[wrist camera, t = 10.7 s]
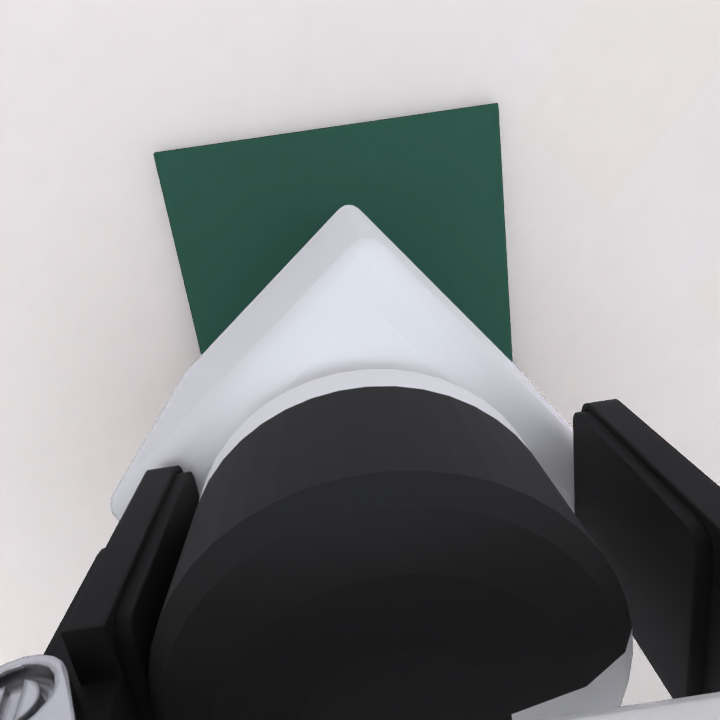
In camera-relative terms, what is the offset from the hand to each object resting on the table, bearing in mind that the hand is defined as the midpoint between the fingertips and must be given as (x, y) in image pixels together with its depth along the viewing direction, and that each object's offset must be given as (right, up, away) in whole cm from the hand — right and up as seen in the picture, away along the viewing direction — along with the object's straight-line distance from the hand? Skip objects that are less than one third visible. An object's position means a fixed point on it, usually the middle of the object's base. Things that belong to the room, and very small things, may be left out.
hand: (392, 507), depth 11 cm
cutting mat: (-1, +4, +12) cm, 13 cm away
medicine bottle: (-1, +2, +7) cm, 8 cm away
